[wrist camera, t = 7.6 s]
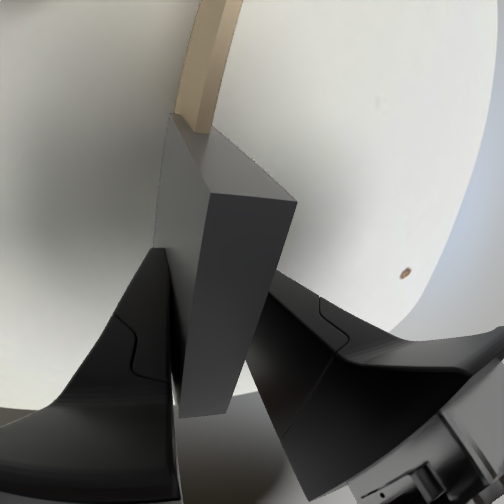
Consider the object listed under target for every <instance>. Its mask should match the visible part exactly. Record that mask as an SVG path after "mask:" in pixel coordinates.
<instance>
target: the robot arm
mask: <svg viewBox="0 0 504 504" xmlns="http://www.w3.org/2000/svg"><path fill="white" fill-rule="evenodd" d="M170 285H171V274H170V268H169V264H168V260H167V256H166V252H165V248H163V247H157V248H151V249H150V250H149V252H148V254H147V255H146V257H145V259H144V260H143V262H142V264H141V265H140V267H139V269H138V270H137V272H136V274H135V275H134V277H133V279H132V280H131V282H130V284H129V286H128V287H127V289H126V291H125V293H124V294H123V296H122V298H121V300H120V302H119V303H118V305H117V307H116V309H115V311H114V313H113V315H112V316H111V318H110V320H109V322H108V323H107V325H106V327H105V329H104V330H103V332H102V334H101V336H100V337H99V339H98V341H97V342H96V344H95V345H94V346H93V348H92V349H91V351H90V352H89V354H88V355H87V357H86V358H85V360H84V361H83V362H82V364H81V365H80V367H79V368H78V370H77V371H76V373H75V374H74V375H73V377H72V378H71V380H70V381H69V383H68V384H67V386H66V387H65V389H64V390H63V391H62V393H61V394H60V395H59V396H58V398H57V399H56V400H54V401H53V402H52V403H51V404H50V405H48V406H47V407H45V408H43V409H41V410H38V411H36V412H34V413H32V414H30V415H27V416H25V417H23V418H21V419H18V420H16V421H14V422H11V423H9V424H7V425H4V426H2V427H0V504H183V499H182V491H181V485H180V476H179V468H178V458H177V450H176V438H175V426H174V412H173V396H172V376H171V343H170ZM503 359H504V326H500V327H497V328H496V329H494V330H492V331H490V332H487V333H483V334H478V335H472V336H464V337H456V338H448V339H439V340H430V341H408V340H404V339H401V338H398V337H396V336H394V335H392V334H390V333H388V332H386V331H384V330H382V329H380V328H378V327H376V326H374V325H372V324H370V323H368V322H366V321H364V320H362V319H360V318H358V317H356V316H354V315H352V314H350V313H348V312H346V311H344V310H343V309H341V308H339V307H337V306H336V305H334V304H332V303H330V302H329V301H327V300H326V299H324V298H322V297H320V298H319V295H317V294H315V293H314V292H312V291H311V290H309V289H307V288H306V287H304V286H302V285H301V284H299V283H297V282H296V281H294V280H292V279H291V278H289V277H287V276H286V275H284V274H282V273H281V272H279V271H277V270H276V271H275V274H274V277H273V280H272V283H271V286H270V289H269V292H268V295H267V298H266V301H265V304H264V307H263V310H262V313H261V315H260V318H259V321H258V324H257V327H256V330H255V333H254V336H253V339H252V342H251V344H250V347H249V350H248V353H247V356H246V359H245V360H246V362H247V365H248V367H249V370H250V372H251V375H252V377H253V379H254V382H255V384H256V387H257V389H258V391H259V394H260V396H261V398H262V401H263V403H264V405H265V408H266V410H267V412H268V415H269V417H270V419H271V421H272V424H273V426H274V428H275V431H276V433H277V435H278V437H279V439H280V442H281V445H282V447H283V449H284V451H285V453H286V455H287V458H288V460H289V462H290V464H291V466H292V468H293V470H294V473H295V474H296V477H297V479H298V481H299V483H300V485H301V487H302V489H303V492H304V494H305V496H306V497H307V499H308V501H309V502H310V501H313V500H315V499H317V498H320V497H322V496H325V495H327V494H329V493H331V492H334V491H336V490H338V489H340V488H342V487H344V486H346V485H348V486H349V488H350V490H351V492H352V493H353V495H354V497H355V499H356V501H357V504H491V503H492V502H493V501H495V500H496V499H497V498H499V497H500V496H502V495H503V494H504V364H503V363H502V362H501V361H502V360H503Z"/></svg>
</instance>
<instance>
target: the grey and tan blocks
mask: <svg viewBox="0 0 504 504" xmlns="http://www.w3.org/2000/svg"><path fill="white" fill-rule="evenodd" d="M242 3H243V0H201V2H200V5H199V9H198V12H197V15H196V19H195V22H194V26H193V30H192V34H191V37H190V41H189V45H188V49H187V53H186V57H185V62H184V66H183V70H182V75H181V79H180V84H179V89H178V94H177V99H176V104H175V109H174V112H175V113H176V114H173V113H170V115H169V120H168V126H167V132H166V138H165V144H164V151H163V158H162V165H161V173H160V180H159V189H158V198H157V207H156V217H155V228H154V241H153V248H157V247H163V248H165V252H166V256H167V260H168V264H169V268H170V274H171V285H170V343H171V376H172V389H173V394H174V399H175V404H176V409H177V414H178V418H188V417H199V416H208V415H217V414H224V413H226V411H227V408H228V405H229V403H230V400H231V397H232V395H233V392H234V389H235V386H236V384H237V381H238V378H239V375H240V373H241V370H242V367H243V364H244V361H245V359H246V356H247V353H248V350H249V347H250V344H251V342H252V339H253V336H254V333H255V330H256V327H257V324H258V321H259V318H260V315H261V313H262V310H263V307H264V304H265V301H266V298H267V295H268V292H269V289H270V286H271V283H272V280H273V277H274V274H275V271H276V268H277V265H278V262H279V259H280V256H281V253H282V249H283V246H284V243H285V240H286V237H287V234H288V231H289V228H290V225H291V221H292V218H293V215H294V212H295V209H296V205H297V202H298V201H296V200H295V199H294V198H293V197H292V196H291V195H290V194H289V193H288V192H287V191H286V190H285V189H284V188H283V187H281V186H280V185H279V184H278V183H277V182H276V181H275V180H274V179H273V178H272V177H271V176H269V175H268V174H267V173H266V172H265V171H264V170H263V169H262V168H261V167H259V166H258V165H257V164H256V163H255V162H254V161H253V160H252V159H250V158H249V157H248V156H247V155H246V154H245V153H244V152H242V151H241V150H240V149H239V148H238V147H237V146H236V145H234V144H233V143H232V142H231V141H230V140H229V139H227V138H226V137H225V136H224V135H223V134H221V133H220V132H219V131H218V130H217V129H216V128H214V127H213V126H212V121H213V117H214V112H215V108H216V103H217V99H218V94H219V90H220V86H221V82H222V77H223V73H224V69H225V65H226V61H227V57H228V53H229V50H230V46H231V42H232V38H233V35H234V31H235V27H236V24H237V20H238V17H239V13H240V10H241V6H242Z"/></svg>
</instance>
